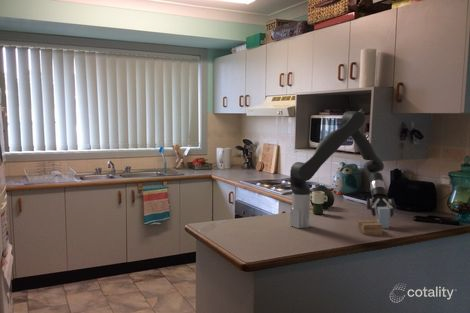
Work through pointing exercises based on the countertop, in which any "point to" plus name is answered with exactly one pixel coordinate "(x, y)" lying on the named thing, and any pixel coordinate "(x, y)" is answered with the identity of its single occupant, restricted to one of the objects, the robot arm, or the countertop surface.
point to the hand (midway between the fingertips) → (383, 215)
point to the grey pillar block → (383, 216)
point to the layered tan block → (369, 227)
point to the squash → (329, 195)
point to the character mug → (318, 201)
